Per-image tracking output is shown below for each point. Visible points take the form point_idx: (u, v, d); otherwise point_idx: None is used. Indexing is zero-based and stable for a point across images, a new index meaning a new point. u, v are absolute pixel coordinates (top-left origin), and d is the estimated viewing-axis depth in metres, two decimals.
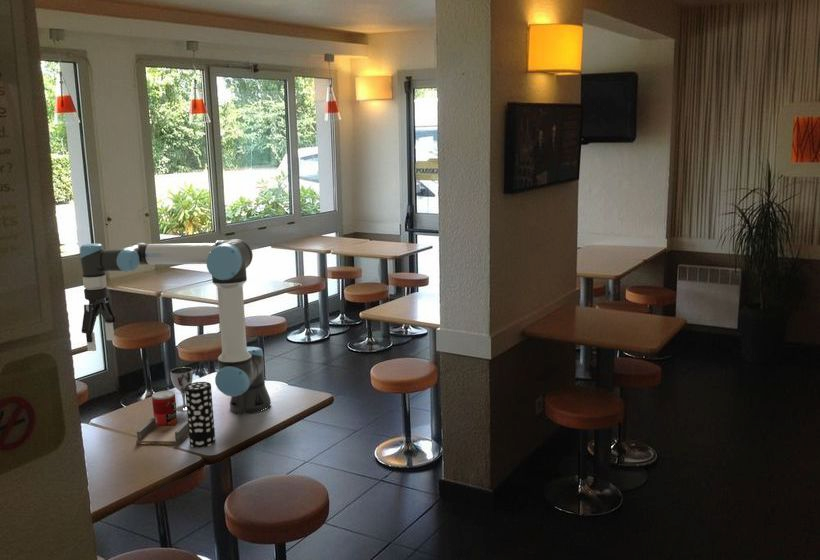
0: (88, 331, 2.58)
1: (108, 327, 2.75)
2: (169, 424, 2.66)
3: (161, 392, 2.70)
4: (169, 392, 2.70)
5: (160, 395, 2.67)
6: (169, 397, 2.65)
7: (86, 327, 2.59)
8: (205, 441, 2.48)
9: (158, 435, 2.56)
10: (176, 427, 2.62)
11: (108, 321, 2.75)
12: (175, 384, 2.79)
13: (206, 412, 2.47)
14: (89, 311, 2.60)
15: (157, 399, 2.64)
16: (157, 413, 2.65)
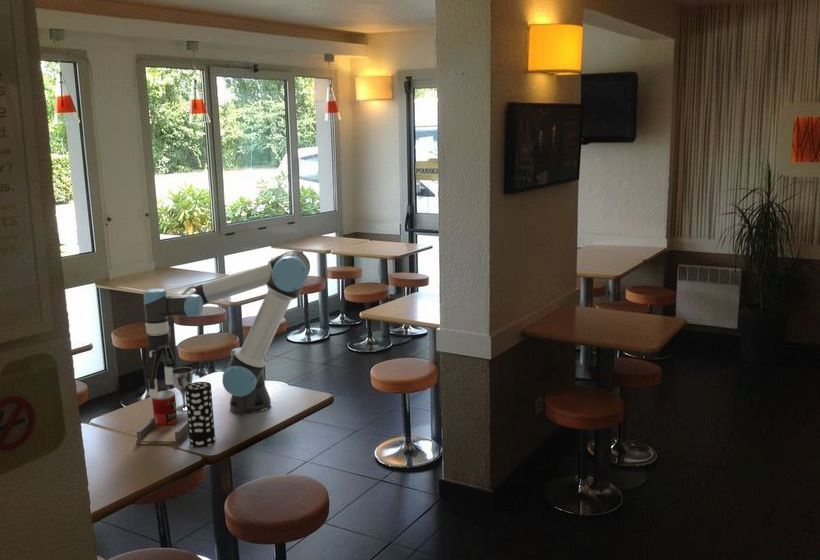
0: (151, 378, 2.56)
1: (168, 371, 2.73)
2: (169, 424, 2.66)
3: (161, 392, 2.70)
4: (169, 392, 2.70)
5: (160, 395, 2.67)
6: (169, 397, 2.65)
7: (149, 374, 2.56)
8: (205, 441, 2.48)
9: (158, 435, 2.56)
10: (176, 427, 2.62)
11: (168, 365, 2.73)
12: (175, 384, 2.79)
13: (206, 412, 2.47)
14: (152, 358, 2.58)
15: (157, 399, 2.64)
16: (157, 413, 2.65)
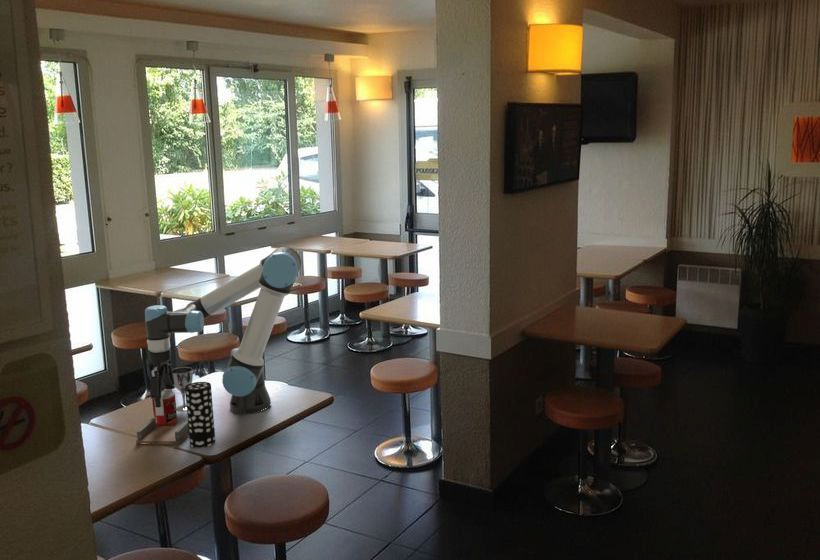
0: (157, 397, 2.60)
1: None
2: (169, 424, 2.66)
3: None
4: (169, 392, 2.70)
5: None
6: (169, 397, 2.65)
7: (155, 393, 2.60)
8: (205, 441, 2.48)
9: (158, 435, 2.56)
10: (176, 427, 2.62)
11: (167, 388, 2.72)
12: (175, 384, 2.79)
13: (206, 412, 2.47)
14: (155, 377, 2.59)
15: None
16: None
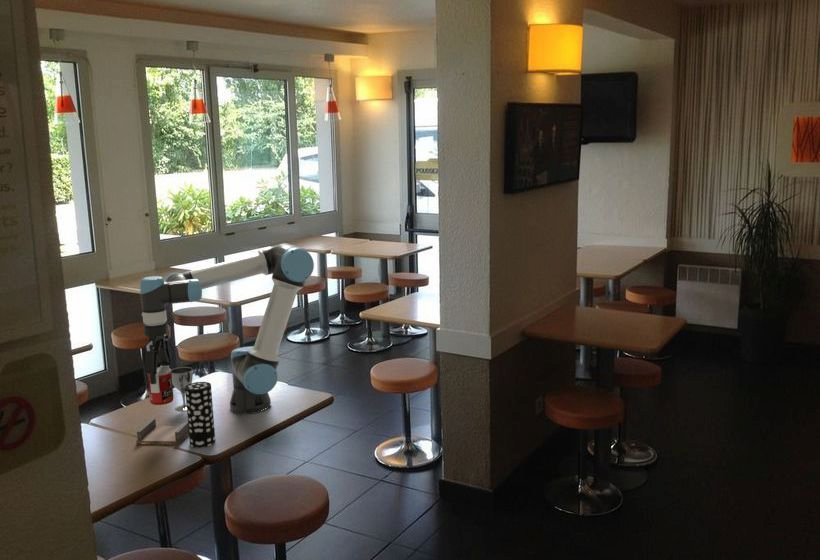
0: (152, 373, 2.46)
1: None
2: (165, 402, 2.52)
3: (157, 368, 2.56)
4: (165, 368, 2.56)
5: None
6: (165, 373, 2.51)
7: (150, 369, 2.46)
8: (205, 441, 2.48)
9: (158, 435, 2.56)
10: (176, 427, 2.62)
11: (164, 364, 2.58)
12: (175, 384, 2.79)
13: (206, 412, 2.47)
14: (150, 352, 2.45)
15: None
16: None
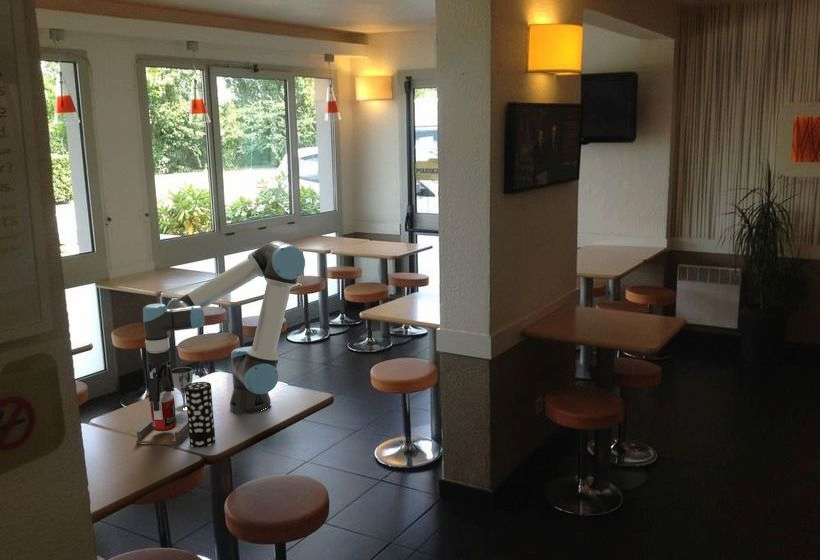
0: (156, 400, 2.47)
1: None
2: (168, 428, 2.54)
3: (160, 395, 2.57)
4: (168, 395, 2.57)
5: None
6: (168, 400, 2.52)
7: (153, 396, 2.47)
8: (205, 441, 2.48)
9: (158, 435, 2.56)
10: (176, 427, 2.62)
11: (166, 390, 2.59)
12: (175, 384, 2.79)
13: (206, 412, 2.47)
14: (154, 379, 2.47)
15: None
16: None
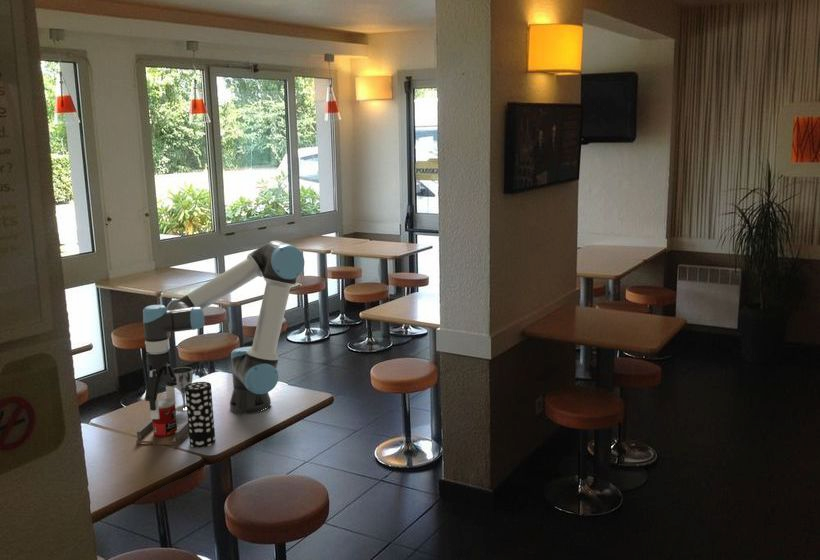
0: (152, 399, 2.44)
1: (169, 391, 2.61)
2: (169, 434, 2.54)
3: (160, 401, 2.58)
4: (169, 401, 2.58)
5: (159, 404, 2.55)
6: (169, 406, 2.53)
7: (150, 395, 2.45)
8: (205, 441, 2.48)
9: None
10: None
11: (169, 384, 2.61)
12: None
13: (206, 412, 2.47)
14: (153, 378, 2.46)
15: None
16: (156, 422, 2.53)
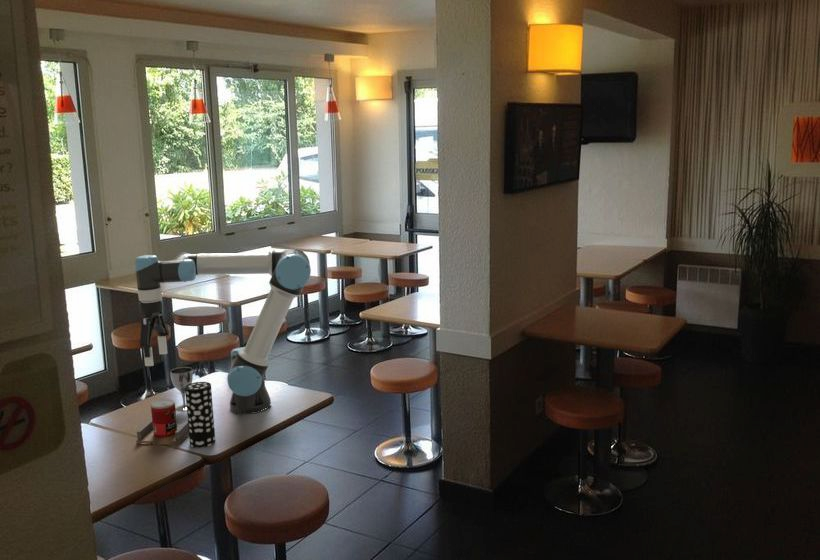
0: (147, 346, 2.51)
1: (161, 341, 2.67)
2: (169, 434, 2.54)
3: (160, 401, 2.58)
4: (169, 401, 2.57)
5: (159, 404, 2.55)
6: (169, 406, 2.53)
7: (144, 342, 2.51)
8: (205, 441, 2.48)
9: None
10: None
11: (161, 335, 2.68)
12: (175, 384, 2.79)
13: (206, 412, 2.47)
14: (147, 325, 2.52)
15: (156, 408, 2.52)
16: (156, 422, 2.53)
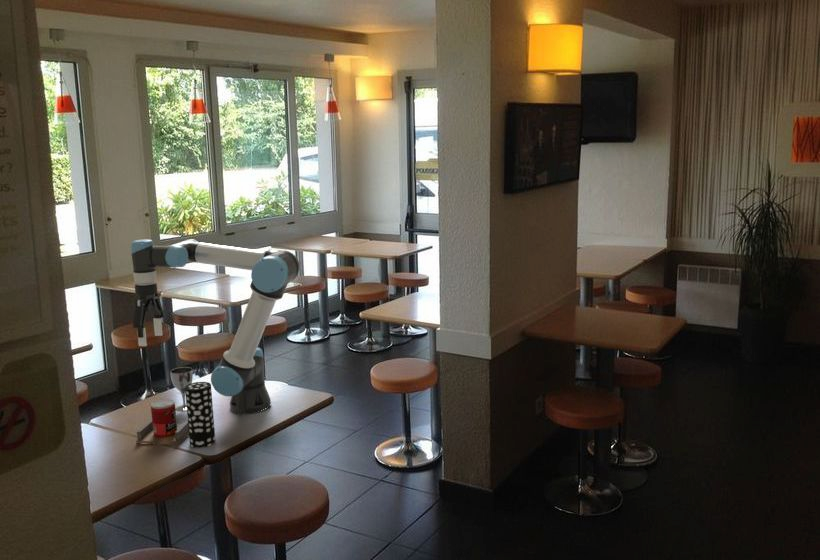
0: (140, 326, 2.60)
1: (156, 323, 2.77)
2: (169, 434, 2.54)
3: (160, 401, 2.58)
4: (169, 401, 2.57)
5: (159, 404, 2.55)
6: (169, 406, 2.53)
7: (138, 322, 2.60)
8: (205, 441, 2.48)
9: None
10: None
11: (156, 317, 2.77)
12: (175, 384, 2.79)
13: (206, 412, 2.47)
14: (140, 306, 2.62)
15: (156, 408, 2.52)
16: (156, 422, 2.53)
